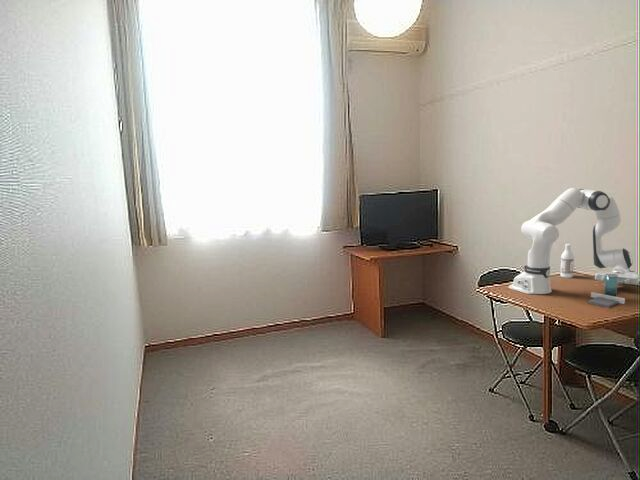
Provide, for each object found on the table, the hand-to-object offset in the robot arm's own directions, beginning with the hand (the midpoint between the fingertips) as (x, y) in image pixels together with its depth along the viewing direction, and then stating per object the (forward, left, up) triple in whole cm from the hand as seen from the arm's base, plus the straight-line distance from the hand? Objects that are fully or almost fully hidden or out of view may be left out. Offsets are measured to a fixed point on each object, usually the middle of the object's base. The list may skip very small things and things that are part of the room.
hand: (613, 281), depth 259 cm
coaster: (+4, -20, -7) cm, 22 cm away
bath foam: (-35, +18, -7) cm, 40 cm away
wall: (+3, -14, -7) cm, 16 cm away
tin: (+2, -8, -7) cm, 11 cm away
